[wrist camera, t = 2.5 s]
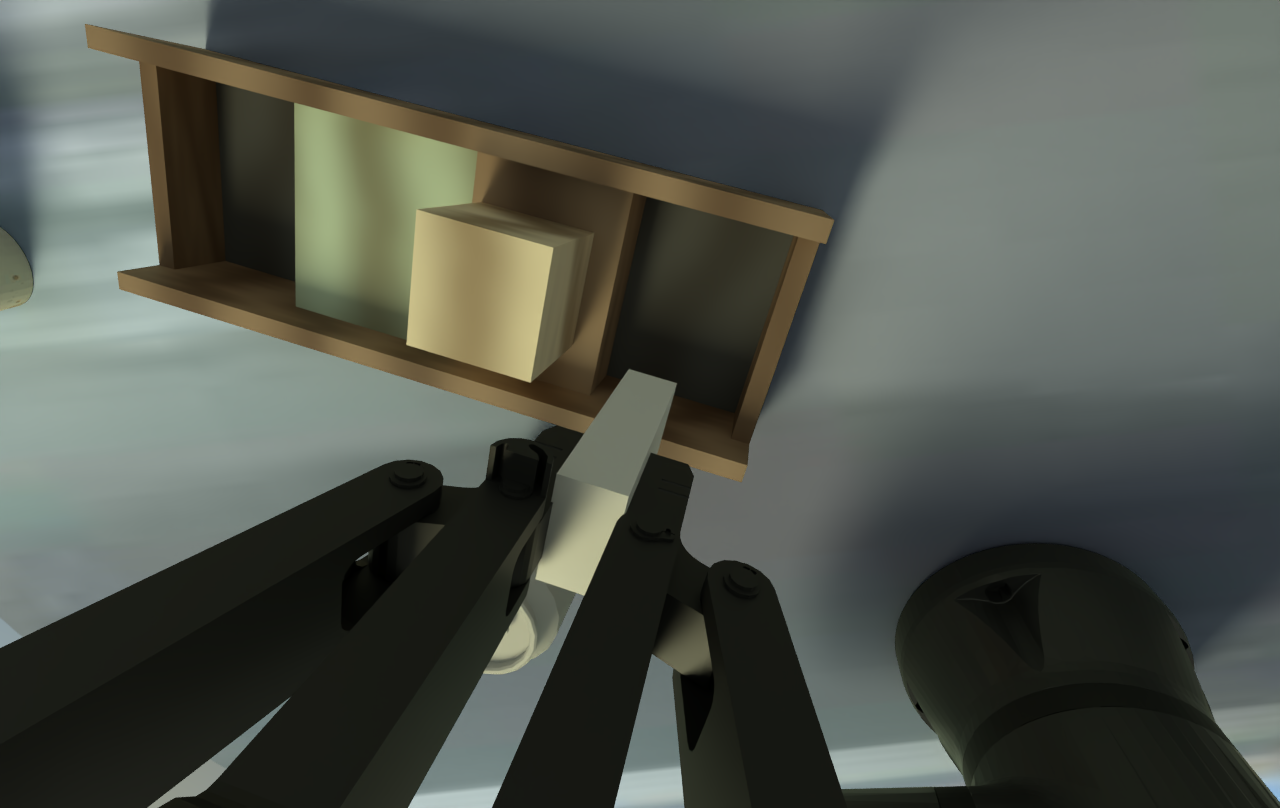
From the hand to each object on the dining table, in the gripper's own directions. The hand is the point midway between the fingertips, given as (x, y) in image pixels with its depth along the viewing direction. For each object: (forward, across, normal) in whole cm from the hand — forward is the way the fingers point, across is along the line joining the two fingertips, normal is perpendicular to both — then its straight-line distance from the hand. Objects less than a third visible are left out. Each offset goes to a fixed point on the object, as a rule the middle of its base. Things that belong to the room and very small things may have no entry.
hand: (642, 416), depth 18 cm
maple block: (+13, +9, 0) cm, 16 cm away
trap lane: (+17, +13, 0) cm, 22 cm away
